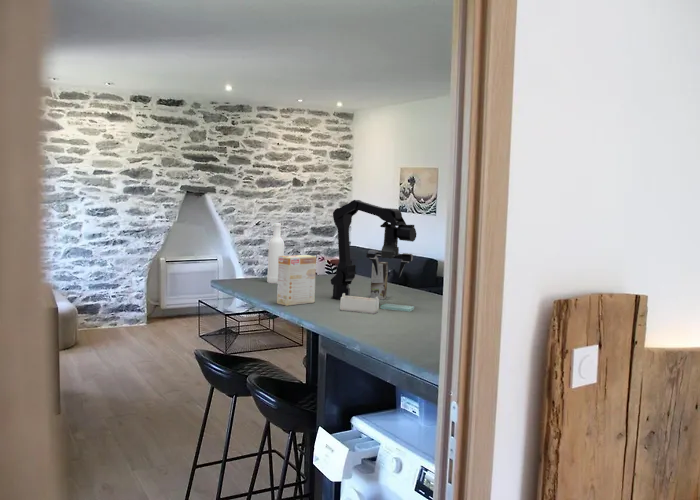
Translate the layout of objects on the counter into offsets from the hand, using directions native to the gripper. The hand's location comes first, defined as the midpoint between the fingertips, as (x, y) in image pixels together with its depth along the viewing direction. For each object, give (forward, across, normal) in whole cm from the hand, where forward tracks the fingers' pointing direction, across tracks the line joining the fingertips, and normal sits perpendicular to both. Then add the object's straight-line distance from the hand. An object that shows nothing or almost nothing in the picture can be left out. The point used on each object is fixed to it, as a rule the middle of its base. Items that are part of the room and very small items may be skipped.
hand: (388, 276), depth 256 cm
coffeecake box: (+13, -36, -12) cm, 40 cm away
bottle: (+14, -63, +39) cm, 76 cm away
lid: (+13, +5, -4) cm, 15 cm away
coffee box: (+13, -6, +19) cm, 24 cm away
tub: (+12, -8, -17) cm, 22 cm away
